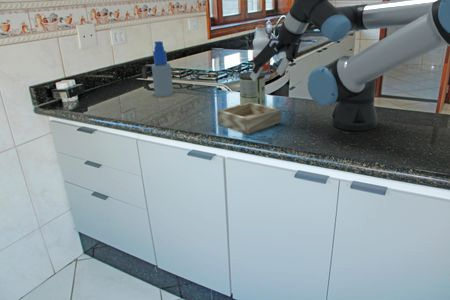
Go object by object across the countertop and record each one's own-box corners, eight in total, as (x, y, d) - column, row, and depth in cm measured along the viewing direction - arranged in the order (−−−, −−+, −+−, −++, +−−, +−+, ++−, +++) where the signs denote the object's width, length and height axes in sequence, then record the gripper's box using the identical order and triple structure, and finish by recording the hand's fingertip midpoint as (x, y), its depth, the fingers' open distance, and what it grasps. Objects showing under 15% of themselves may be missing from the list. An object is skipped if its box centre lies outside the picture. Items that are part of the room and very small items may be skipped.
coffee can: (240, 105, 158) (239, 72, 153) (265, 105, 157) (265, 71, 152) (239, 112, 149) (237, 77, 143) (265, 112, 148) (265, 76, 142)
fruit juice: (266, 76, 213) (265, 24, 203) (272, 79, 205) (273, 25, 194) (250, 77, 211) (249, 25, 200) (256, 80, 202) (256, 26, 192)
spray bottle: (157, 97, 178) (151, 43, 168) (152, 93, 186) (146, 41, 176) (175, 94, 181) (170, 41, 172) (170, 91, 189) (164, 39, 179)
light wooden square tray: (280, 123, 134) (281, 109, 132) (248, 134, 125) (247, 120, 123) (250, 114, 146) (250, 101, 144) (218, 124, 137) (217, 110, 135)
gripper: (310, 17, 130) (283, 64, 146) (259, 22, 116) (234, 74, 131) (324, 31, 127) (295, 77, 143) (273, 38, 113) (246, 89, 128)
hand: (266, 76), depth 137 cm, fingers open, 13 cm apart
